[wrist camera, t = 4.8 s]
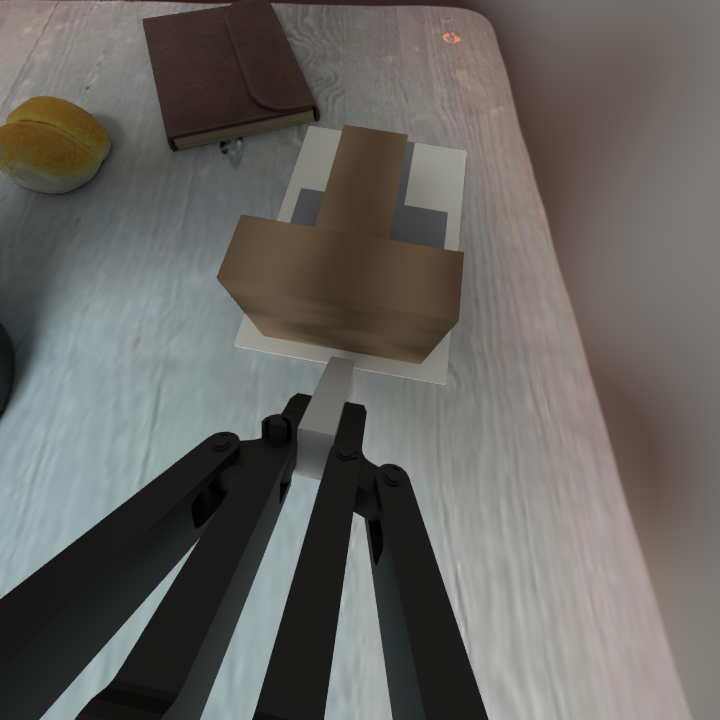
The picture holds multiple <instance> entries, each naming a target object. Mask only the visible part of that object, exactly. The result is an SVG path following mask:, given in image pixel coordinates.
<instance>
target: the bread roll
mask: <svg viewBox="0 0 720 720" xmlns="http://www.w3.org/2000/svg"><path fill="white" fill-rule="evenodd" d="M0 142H1V161H0V170H2V171H3V173H4V174H5V175H6V176H7V177H8V178H10V179H11V180H12V181H13V182H15V183H16V184H17V185H19V186H21V187H23V188H26V189H30V190H35V191H38V192H42V193H66V192H69V191H72V190H74V189H76V188H78V187H80V186H82V185H83V184H85V183H87V182H88V181H90V180H91V179H92V178H93V177H94V176H95V174H96V173H97V171H98V170H99V167H100V165H101V162H102V160H105V158H106V157H107V156H108V154H109V152H110V147H111V141H110V138H109V136H108V134H107V133H106V131H105V129H104V128H103V127H102V125H101V124H100V123H99V122H98V121H97V120H96V119H95V118H94V117H93V116H92V115H91V114H89V113H88V112H86V111H85V110H83V109H82V108H80V107H78V106H77V105H75V104H72V103H70V102H68V101H65V100H63V99H59V98H55V97H47V96H39V97H34V98H31V99H29V100H28V101H26V102H24V103H23V104H21V105H20V106H19V107H18V108H16V109H15V110H14V111H13V112H12V113H11V114H10V115H9V116H8V118H7V120H6V125H4V126H1V127H0Z"/></svg>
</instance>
